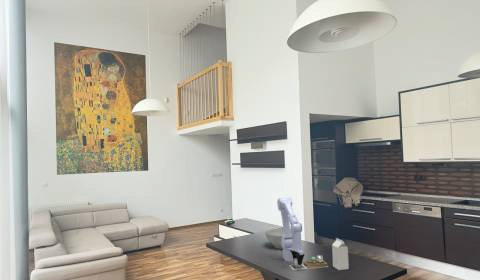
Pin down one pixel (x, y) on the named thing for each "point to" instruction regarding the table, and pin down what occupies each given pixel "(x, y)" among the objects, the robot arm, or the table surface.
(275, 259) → the table surface
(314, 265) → the wooden compartment tray
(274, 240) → the decorative bowl
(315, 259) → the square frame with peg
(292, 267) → the square tray
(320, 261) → the cylinder
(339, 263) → the milk carton
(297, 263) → the cylinder
